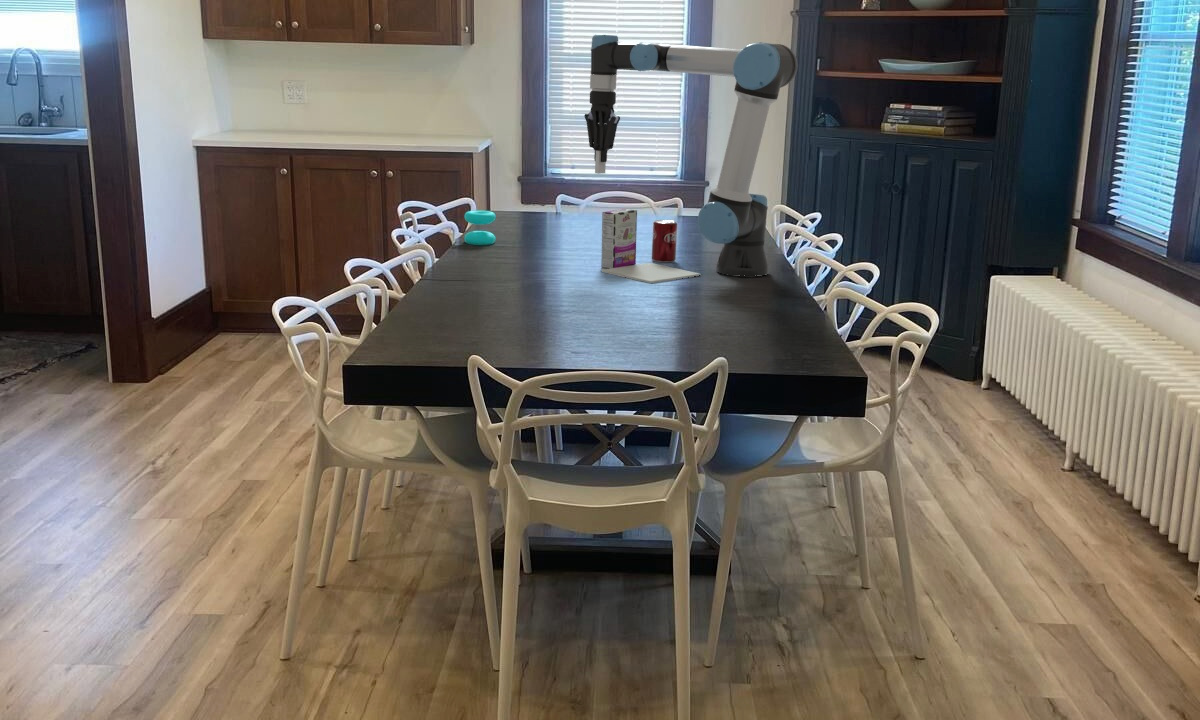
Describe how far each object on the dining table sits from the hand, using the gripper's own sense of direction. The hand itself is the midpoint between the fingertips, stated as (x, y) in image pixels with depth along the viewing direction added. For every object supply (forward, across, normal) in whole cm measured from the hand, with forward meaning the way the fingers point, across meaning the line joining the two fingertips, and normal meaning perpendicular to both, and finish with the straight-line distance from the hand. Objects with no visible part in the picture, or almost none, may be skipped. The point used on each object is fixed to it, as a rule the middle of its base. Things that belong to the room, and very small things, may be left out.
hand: (600, 173), depth 328 cm
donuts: (+27, +45, +10) cm, 53 cm away
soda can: (+26, -10, -18) cm, 34 cm away
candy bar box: (+26, -9, 0) cm, 28 cm away
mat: (+26, -23, 0) cm, 35 cm away
